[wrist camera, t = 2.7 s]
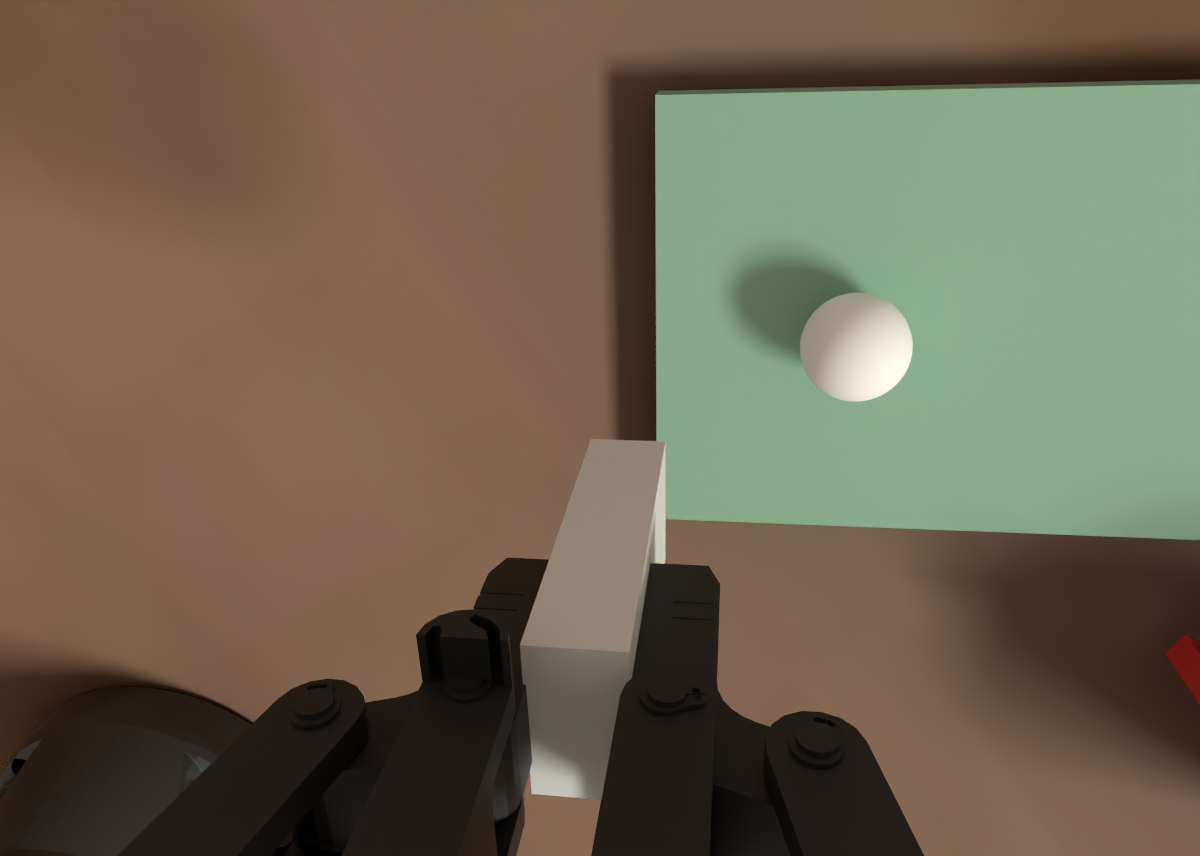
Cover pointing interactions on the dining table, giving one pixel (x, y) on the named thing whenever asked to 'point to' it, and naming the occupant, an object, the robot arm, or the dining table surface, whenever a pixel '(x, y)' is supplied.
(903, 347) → the ball
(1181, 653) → the mug
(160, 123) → the dining table surface
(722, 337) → the board with hole
